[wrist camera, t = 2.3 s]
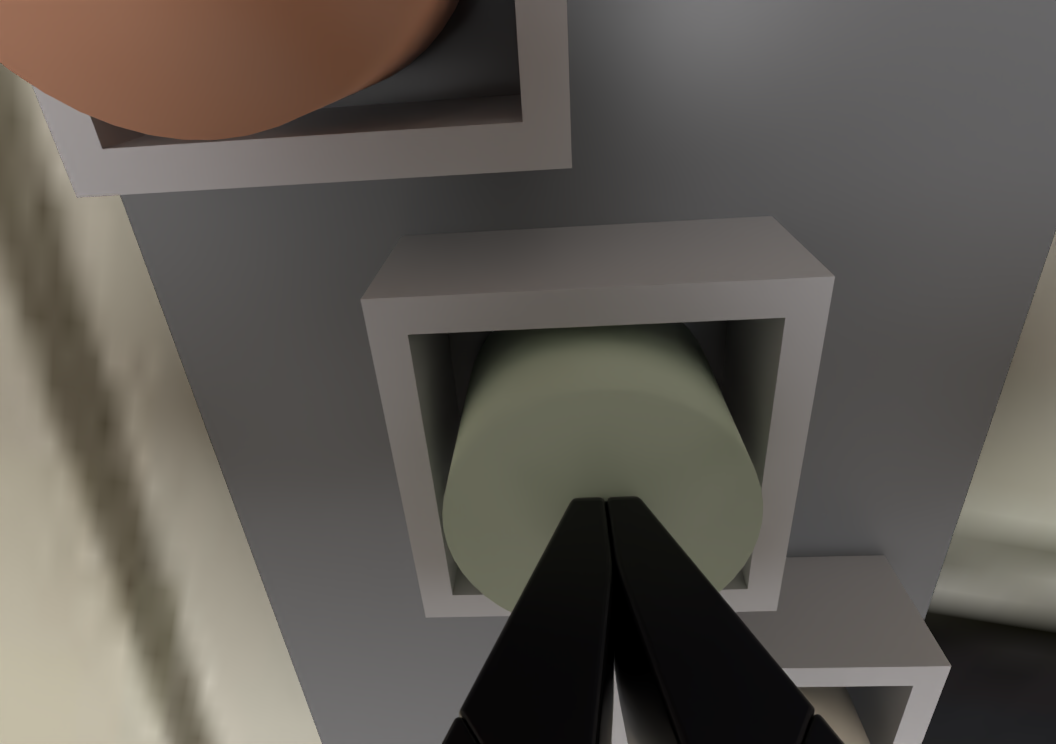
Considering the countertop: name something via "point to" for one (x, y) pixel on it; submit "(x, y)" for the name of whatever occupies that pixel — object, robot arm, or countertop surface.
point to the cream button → (837, 712)
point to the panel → (612, 306)
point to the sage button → (595, 449)
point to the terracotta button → (211, 57)
